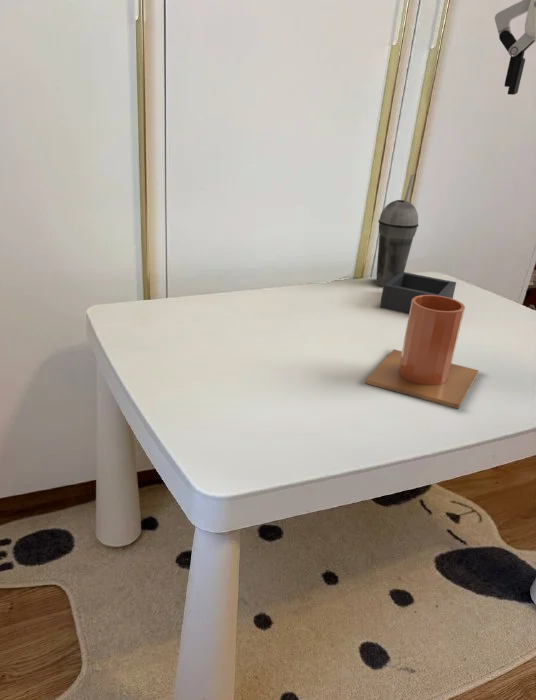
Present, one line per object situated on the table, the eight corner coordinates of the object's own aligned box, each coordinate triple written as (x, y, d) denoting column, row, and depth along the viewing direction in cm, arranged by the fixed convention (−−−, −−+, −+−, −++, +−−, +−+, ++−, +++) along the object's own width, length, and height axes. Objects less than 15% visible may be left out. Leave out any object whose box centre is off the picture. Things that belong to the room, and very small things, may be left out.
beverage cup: (362, 278, 123) (378, 171, 114) (396, 277, 125) (415, 171, 116) (378, 290, 117) (397, 177, 108) (414, 289, 119) (435, 178, 110)
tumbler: (452, 372, 86) (469, 301, 81) (441, 389, 81) (458, 315, 76) (406, 360, 88) (420, 291, 83) (392, 376, 83) (406, 304, 78)
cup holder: (451, 303, 113) (456, 282, 111) (437, 320, 105) (442, 297, 103) (397, 292, 117) (400, 271, 115) (379, 307, 109) (383, 284, 107)
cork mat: (478, 374, 87) (479, 370, 86) (458, 409, 77) (459, 404, 77) (393, 352, 92) (393, 349, 91) (365, 383, 82) (366, 379, 82)
